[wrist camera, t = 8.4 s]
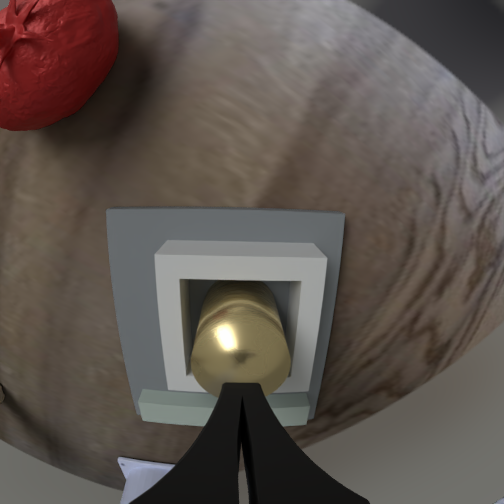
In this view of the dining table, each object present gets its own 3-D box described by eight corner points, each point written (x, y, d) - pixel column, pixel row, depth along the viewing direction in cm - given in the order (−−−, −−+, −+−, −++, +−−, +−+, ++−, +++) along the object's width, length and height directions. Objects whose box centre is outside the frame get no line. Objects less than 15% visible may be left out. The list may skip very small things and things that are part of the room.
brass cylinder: (272, 339, 19) (285, 401, 14) (203, 337, 19) (193, 399, 13) (278, 275, 18) (296, 324, 13) (202, 272, 18) (188, 321, 12)
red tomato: (159, 75, 16) (104, 11, 7) (38, 162, 17) (-59, 174, 8) (106, -19, 13) (54, -87, 4) (2, 63, 14) (-78, 40, 5)
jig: (310, 410, 23) (320, 445, 19) (139, 406, 22) (128, 440, 18) (339, 211, 18) (364, 223, 15) (112, 207, 18) (83, 217, 14)
